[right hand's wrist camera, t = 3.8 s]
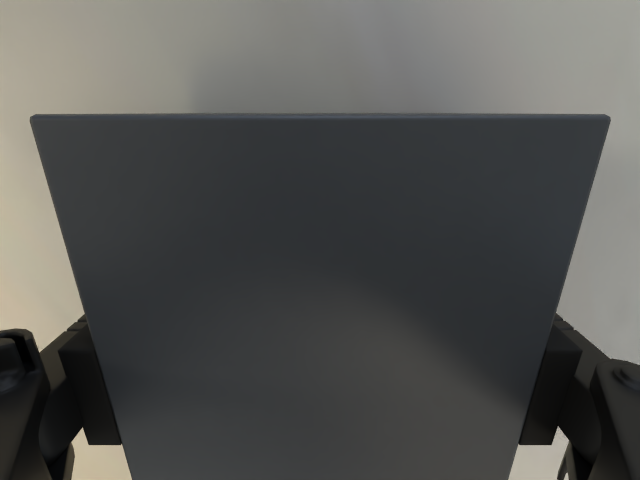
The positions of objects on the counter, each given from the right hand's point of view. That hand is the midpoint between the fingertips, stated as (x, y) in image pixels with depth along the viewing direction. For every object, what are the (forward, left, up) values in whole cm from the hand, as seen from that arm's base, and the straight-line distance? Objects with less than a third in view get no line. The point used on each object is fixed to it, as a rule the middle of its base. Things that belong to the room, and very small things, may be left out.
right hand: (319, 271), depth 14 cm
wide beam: (+6, -19, 0) cm, 20 cm away
